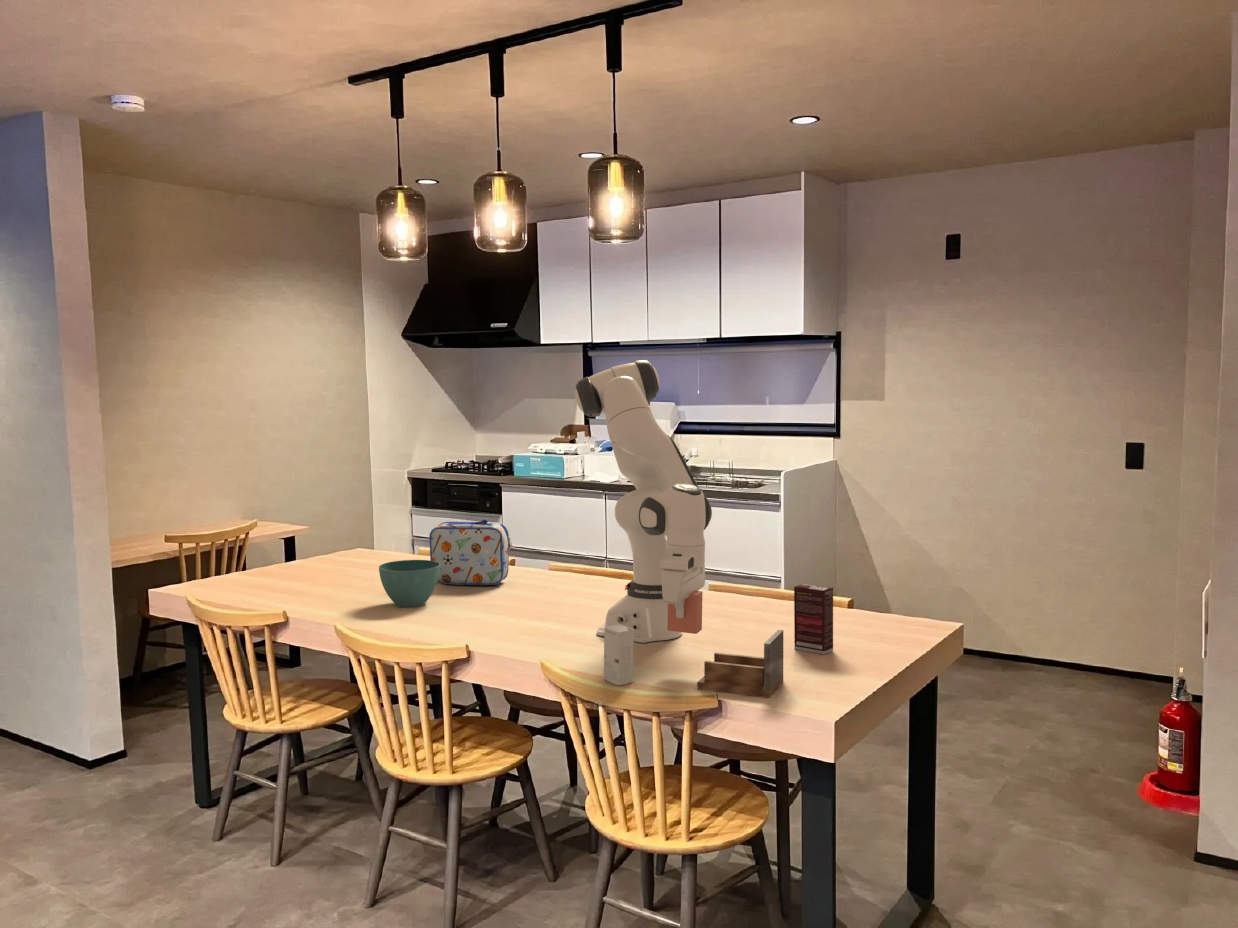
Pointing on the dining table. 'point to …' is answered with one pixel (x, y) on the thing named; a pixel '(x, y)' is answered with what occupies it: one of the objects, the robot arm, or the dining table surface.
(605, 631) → the skincare box
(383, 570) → the green bowl
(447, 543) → the lunch box
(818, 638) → the supplement box
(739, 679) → the book rack
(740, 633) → the dining table surface
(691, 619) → the red book
